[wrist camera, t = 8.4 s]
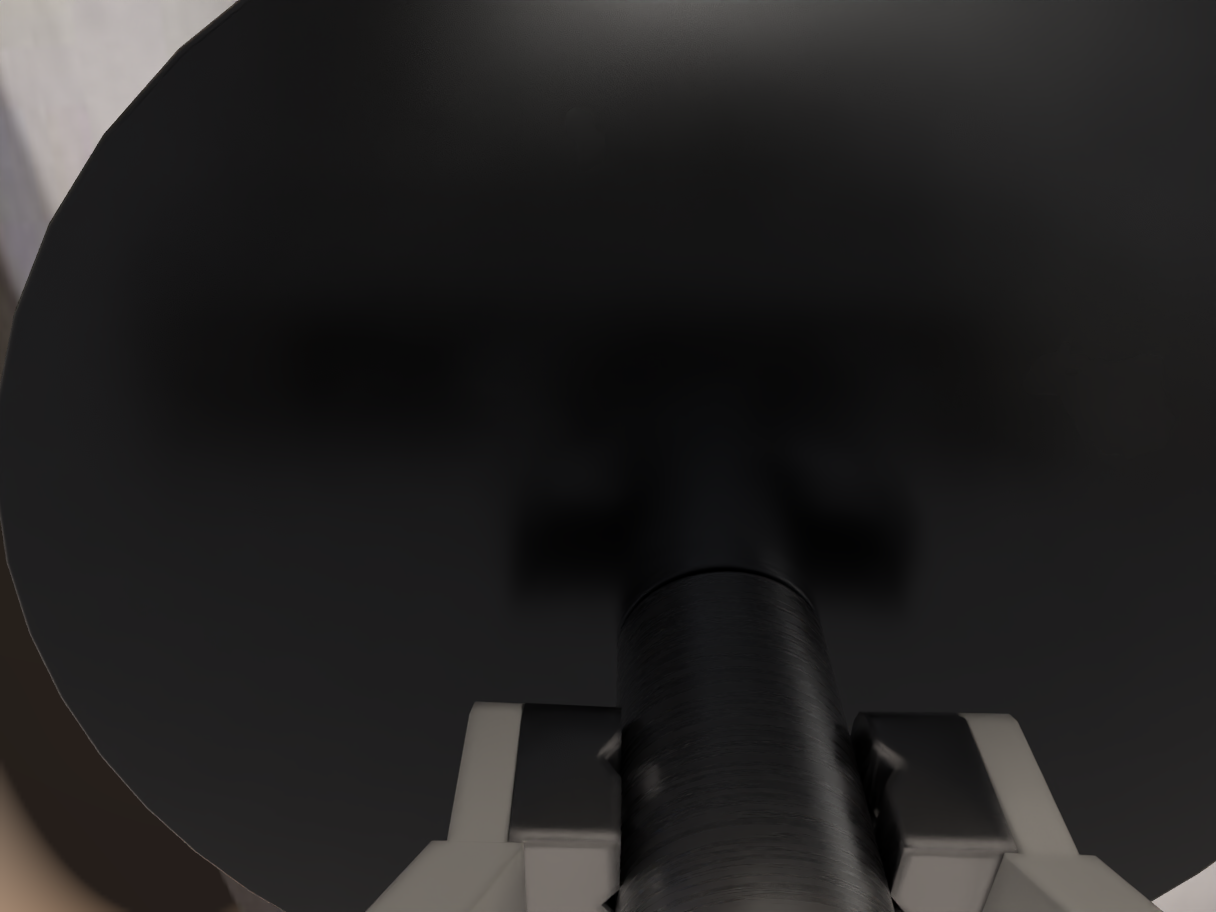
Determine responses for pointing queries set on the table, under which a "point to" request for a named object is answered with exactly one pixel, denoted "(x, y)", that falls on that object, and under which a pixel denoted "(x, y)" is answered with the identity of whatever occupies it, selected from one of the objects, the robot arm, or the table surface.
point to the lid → (633, 423)
